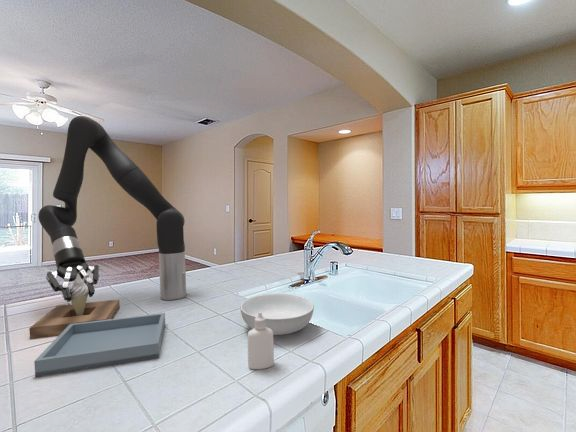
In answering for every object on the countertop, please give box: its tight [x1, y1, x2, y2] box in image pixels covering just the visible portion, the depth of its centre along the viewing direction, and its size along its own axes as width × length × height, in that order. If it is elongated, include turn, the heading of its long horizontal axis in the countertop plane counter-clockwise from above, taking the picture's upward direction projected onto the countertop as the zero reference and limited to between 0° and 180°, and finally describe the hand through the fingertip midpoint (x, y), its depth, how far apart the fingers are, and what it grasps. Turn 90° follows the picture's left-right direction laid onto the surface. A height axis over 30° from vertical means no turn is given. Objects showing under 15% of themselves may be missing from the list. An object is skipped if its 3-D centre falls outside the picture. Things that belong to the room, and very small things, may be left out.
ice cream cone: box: [69, 274, 89, 316], centre depth 93 cm, size 5×5×15 cm
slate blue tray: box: [33, 312, 166, 378], centre depth 77 cm, size 24×20×4 cm
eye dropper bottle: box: [247, 312, 275, 370], centre depth 67 cm, size 4×6×12 cm
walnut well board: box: [29, 299, 121, 340], centre depth 93 cm, size 18×18×3 cm
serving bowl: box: [240, 293, 315, 336], centre depth 87 cm, size 21×21×7 cm
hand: (80, 297), depth 91 cm, fingers closed on ice cream cone, 5 cm apart
